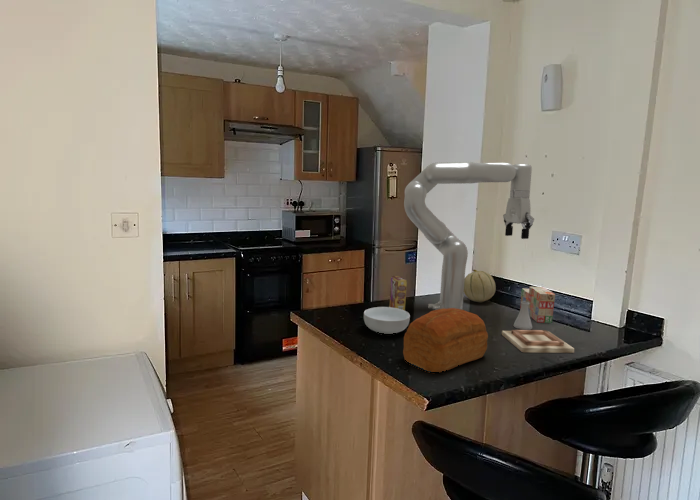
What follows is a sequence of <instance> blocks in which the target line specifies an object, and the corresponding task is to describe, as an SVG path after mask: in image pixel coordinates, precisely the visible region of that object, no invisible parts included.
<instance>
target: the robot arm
mask: <svg viewBox="0 0 700 500" xmlns="http://www.w3.org/2000/svg"><path fill="white" fill-rule="evenodd" d="M532 171H533V168H532V165H531V164H529V163H528V164H527V163H516V164H515V163H514V164H512V163H510V162H474V161H470V162H469V161H463V162H461V161H459V162H458V161H457V162H456V161H455V162H453V161H452V162H447V161H446V162H431V163H430V164H428V165H427V166H426V167H425V168H424V169H423V170H422V171H421V172H420V173H419V174H417V176H415V177H414V178H413V179H411V181H410V182H409V183H408V184H407V185H406V186H405V188H404V200H403V201H404V202H403V207H404V211H405V213H406V216H407V218H409V220H410V221H411V222H412V223H413V224H414V225H415V227H417V229H418V230H419V231H420V232H421V234H423V235H424V237H425V238H426V240H428V241H429V242H430V243H431V245H432V246H434V247H435V248H436V250H438V251H439V252H440V253H441V254H442V256H443V259H442V268H441V277H440V278H441V279H440V281H441V282H440V294H439V301H437V302H436V303H428V304H427V307H428V309H432V310H438V309H443V308H445V309H448V308H456V309H461V310H463V305H464V295H465V293H464V281H465V277H466V268H467V262H468V254H469V252H468V248H467V246H466V243H464V242H463V241H462V240H461V239H459V238H458V237H457V236H456V235H455V234H454V232H452V231H451V230H450V228H448V227H447V226H446V224H445V223H444V222H443V221H442V220H440V219H439V218H438V217H437V216H436V215H435V214H434V213H433V212H432V211H431V209H429V208H428V207H427V205H426V202H425V201H426V198H427V195H428V193H429V192H431V191H432V190H433V189H434V188H435V187H436V186H437V185H440V184H441V185H442V184H444V185H445V184H449V185H450V184H452V185H453V184H454V185H455V184H459V185H461V184H477V183H509V182H510V192H509V198H507V199H508V200H507V203H506V208H505V213H504V214H503V215H502V217H503V222H504V226H505V233H504V235H505V236H506V237H509V236H510V237H512V236H513V231H514V226H513V225H514V224H517V225H518V224H521V226H522V228H521V236H520V238H521V240H522V239H523V240H526V239H527V240H528V239H529V237H530V230H531V228H532V226H533V223H534V222H535V218H534V217H533V216H532V215H531V199H530V198H531V197H530V195H531V185H532V182H531V181H532Z"/></svg>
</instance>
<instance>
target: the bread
mask: <svg viewBox="0 0 700 500" xmlns="http://www.w3.org/2000/svg"><path fill="white" fill-rule="evenodd" d="M407 327H408V328H406V332H405V333H404V336H403V349H402V354H403V357H404V361H405V360H406V361H407V362H409V363H411V364H414V365H416V366H418V367H420V368H423V369H424V370H427V371H431V372H439V373H442V371H444V372H447V371H450V370H451V369H454V368H456V367H458V365H459V366H461V365H464V364H467V363H469V362H472V361H476V360H479V359H481V358H483V357H484V355H485V353H486V351H487V349H488V340H489V333H488V331H487V328H486V324H485V321H484V320H483V319H482V318H481V317H479V315H478V314H476V313H473V312H470V311H468V310H465V309H462V310H461V309H456V308H448V309H445V308H443V309H438V310H436V309H433V310H431V311H429V312H427V313H426V314H423V315H421V316H420V317H417V318H415V320H413V321H412V322H411V323H410V322H409V324H408V326H407ZM406 361H405V362H406ZM407 362H406V363H407ZM446 370H447V371H446Z"/></svg>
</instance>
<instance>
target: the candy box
mask: <svg viewBox="0 0 700 500" xmlns="http://www.w3.org/2000/svg"><path fill="white" fill-rule="evenodd" d="M407 286H408V280H407V279H405V278H404V277H402V276H400V275H391V278H390V291H389V293H390V294H389V305H388V307H392V308H398V309H401V310H404V311H406V299H407V298H406V297H407Z"/></svg>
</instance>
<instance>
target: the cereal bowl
mask: <svg viewBox="0 0 700 500" xmlns="http://www.w3.org/2000/svg"><path fill="white" fill-rule="evenodd" d="M410 318H411V315H410V313H409V312H408V311H406V310H405V311H404V310H401V309H398V308H392V307H389V306H377V307H371V308H368V309H365V310H364V312H363V321H364V324H365V325H366V327H368V329H370V330H371V331H372V332H375V333H377V332H379V333H384V334H393V333H396V334H399V333H402V332H403V331H405V329H407V327H409V324H410V321H411V320H410ZM379 333H378V334H379ZM393 335H394V334H393Z"/></svg>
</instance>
